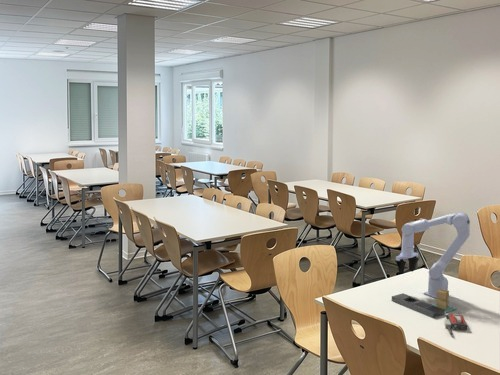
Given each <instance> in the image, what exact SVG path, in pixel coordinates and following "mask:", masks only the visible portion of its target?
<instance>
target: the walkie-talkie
mask: <svg viewBox="0 0 500 375" xmlns="http://www.w3.org/2000/svg"><path fill="white" fill-rule="evenodd" d="M445 318H446V319H445V320H444V323H443V324H444V328H445V329H446V330H447V331H448V332H449V335H450V336H453V331H454V330H455V331H462V332H463V331H465V332H466V331H468V329H469V328H468V326H469V325H468V323H467V322H466V319H465V318H464V315H462V314H460V313H451V312H448V313H447V314H446V315H445ZM452 329H453V331H452Z"/></svg>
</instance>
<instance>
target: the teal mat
mask: <svg viewBox="0 0 500 375" xmlns="http://www.w3.org/2000/svg"><path fill="white" fill-rule="evenodd" d="M432 305H435V306H436V303H434V304H432ZM456 310H457V308H456V307H453V306H451V305H448V308H446V309H445V314H446V313H447V314H448V313H451V312H452V311H456Z"/></svg>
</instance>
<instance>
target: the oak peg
mask: <svg viewBox="0 0 500 375" xmlns="http://www.w3.org/2000/svg"><path fill="white" fill-rule="evenodd" d="M449 296H450V291H449V289H448V290H443V289H439V290H438V291H437V298H436V303H435V304H436V306H437V307H440V308H442V309H446V308H448V306H449Z"/></svg>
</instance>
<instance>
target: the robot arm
mask: <svg viewBox="0 0 500 375" xmlns="http://www.w3.org/2000/svg"><path fill="white" fill-rule="evenodd" d="M443 224H446V225H450V226H452V225H453V227H454V228H455V229H456V233H457V235H456V236H455V238H454V240H452V242H451V243H450V245H449V246H447V248H446V250H445V252H444V253H443V254H442V255H441V257H440V258H439V259H438V260H437V262H434V263H433V264H432V266H431V267H430V268H429V269H428V284H427V285H428V286H427V291H425V292H423V294H424V295H427V296H429V297H432V298H435V299H437V291H438V290H439V289H443V290H448V291H449V281H448V278H447V277H445V276H444V273H445V271H446V267H447V266H448V264H450V262H451V261H452V260H453V258H454V257H455V256H456V255H457V253H458V251H459V250H460V249H461V247H463V245H464V244H465V243H466V241H467V240H468V239H469V237H470V232H471V230H470V228H471V227H470V226H471V225H470V224H471V221H470V218H469V216H468V214H467V213H465V212H464V211H459V212H457V213H456V212H454V213H449V214H446V215H442V216H440V217H436V218H432V219H426V218H419V220H415V221H409V222H407V223H405V224H403V225H402V226H401V233H402V237H401V252H400V253H399V254H398V255H397V256H395V260H394V261H395V263H396V265H397V270H398V273H399V274H402V275H404V273H405V267H406V264H407V261H405V260H408V270H409V271H410V272H414V271H415V267H416V265H417V263H418V262H419V260H420V259H419V253H418V252H415V251H414V240H415V238H414V236H415V234H418V233H421V232H425V231H428V230H430V228H431V227H435V226H439V225H443Z"/></svg>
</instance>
